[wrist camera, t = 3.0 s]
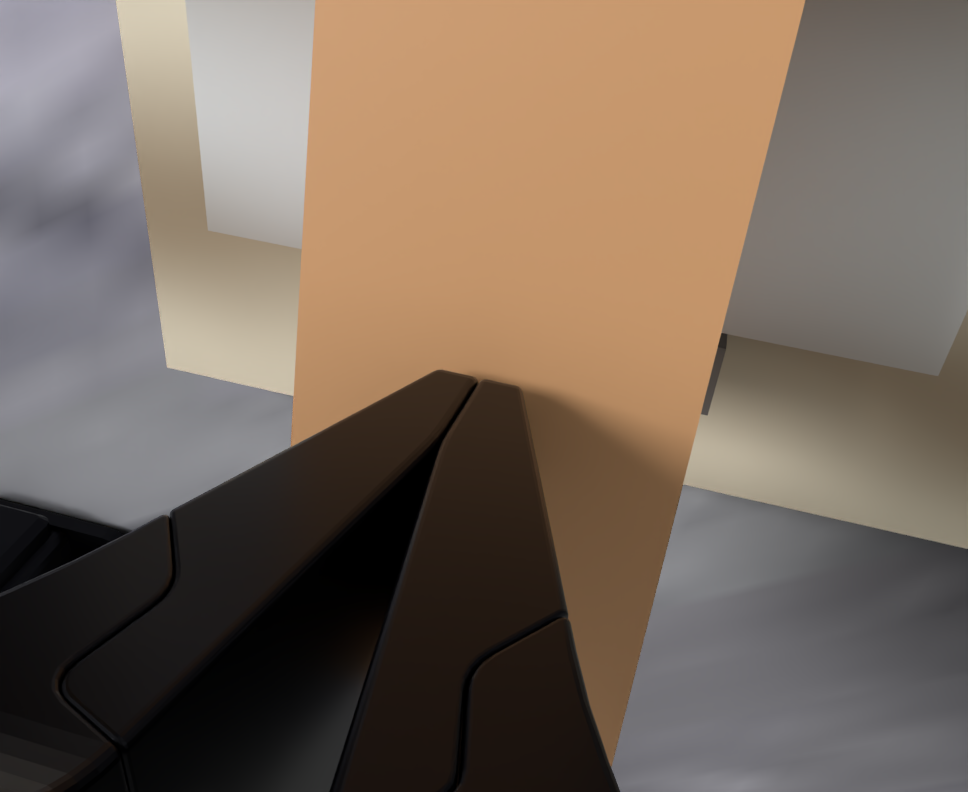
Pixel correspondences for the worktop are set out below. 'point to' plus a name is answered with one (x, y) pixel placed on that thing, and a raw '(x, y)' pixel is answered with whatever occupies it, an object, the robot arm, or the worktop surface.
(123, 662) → the robot arm
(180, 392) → the worktop surface
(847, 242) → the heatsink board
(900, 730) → the worktop surface
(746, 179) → the tan wooden bar
